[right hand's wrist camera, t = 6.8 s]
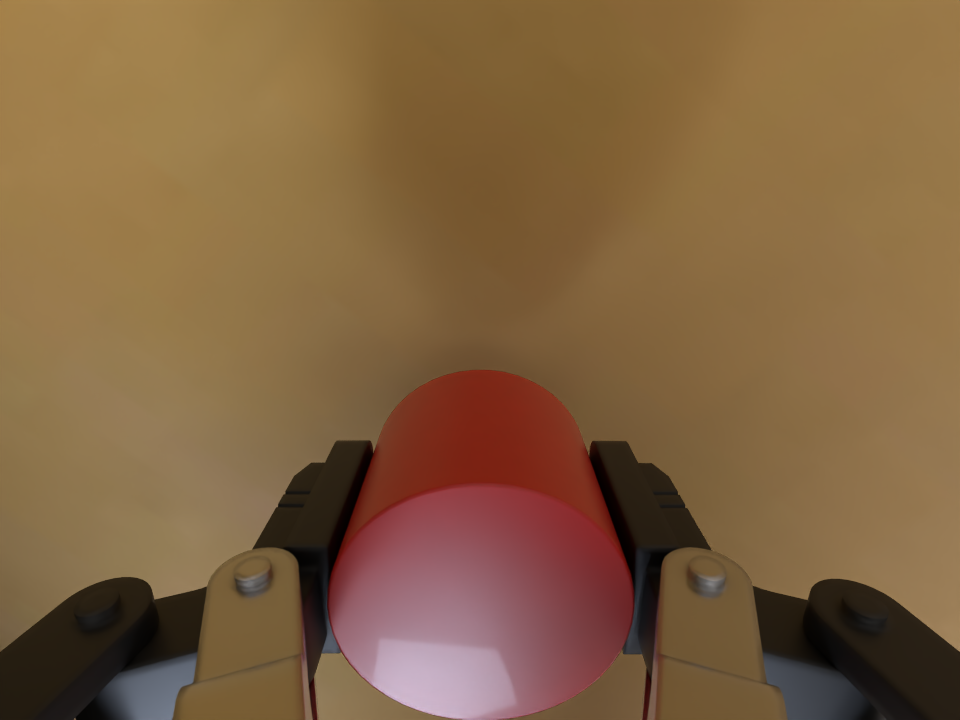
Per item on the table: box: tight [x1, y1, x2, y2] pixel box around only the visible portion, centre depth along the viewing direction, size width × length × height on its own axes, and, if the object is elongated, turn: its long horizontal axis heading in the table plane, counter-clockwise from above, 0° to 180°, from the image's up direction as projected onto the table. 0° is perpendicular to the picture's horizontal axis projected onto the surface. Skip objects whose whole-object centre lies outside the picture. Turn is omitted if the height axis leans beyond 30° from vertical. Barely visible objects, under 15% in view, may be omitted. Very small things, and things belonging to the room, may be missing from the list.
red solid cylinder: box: [327, 370, 635, 720], centre depth 11 cm, size 5×5×4 cm
